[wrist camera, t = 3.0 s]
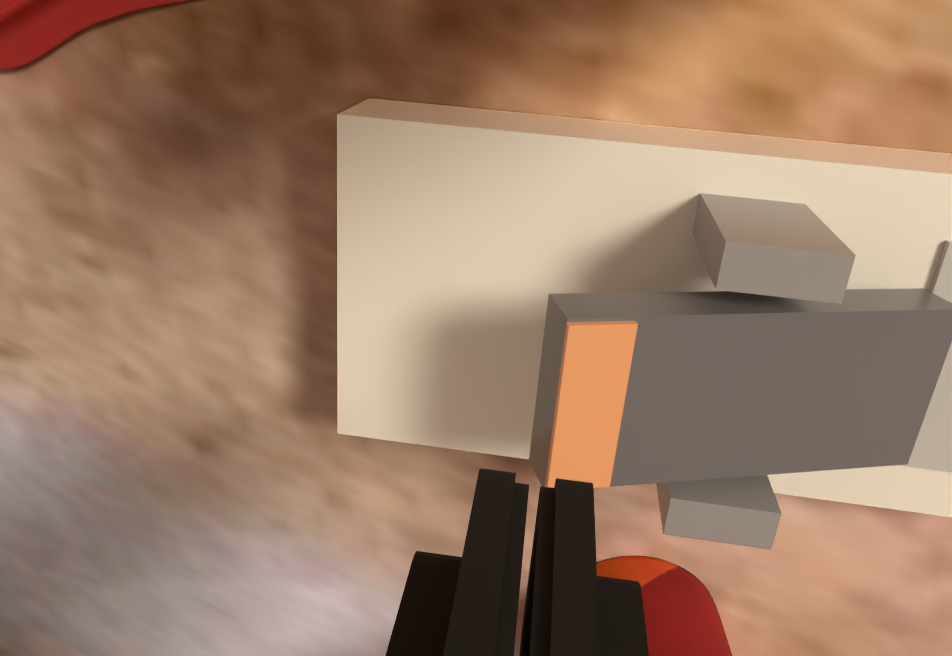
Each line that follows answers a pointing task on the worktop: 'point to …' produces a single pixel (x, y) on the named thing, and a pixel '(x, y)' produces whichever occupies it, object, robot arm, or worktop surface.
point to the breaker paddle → (732, 383)
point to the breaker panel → (610, 271)
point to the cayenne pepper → (53, 24)
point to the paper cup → (672, 607)
